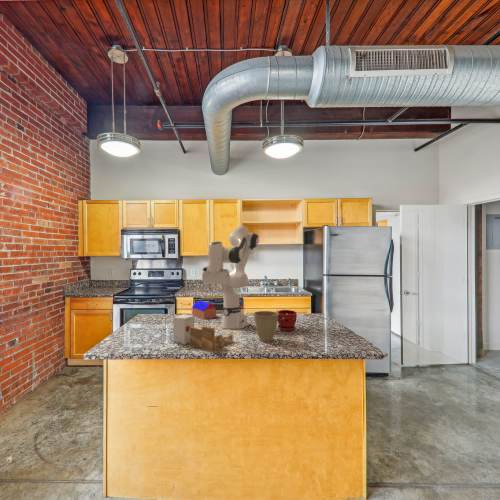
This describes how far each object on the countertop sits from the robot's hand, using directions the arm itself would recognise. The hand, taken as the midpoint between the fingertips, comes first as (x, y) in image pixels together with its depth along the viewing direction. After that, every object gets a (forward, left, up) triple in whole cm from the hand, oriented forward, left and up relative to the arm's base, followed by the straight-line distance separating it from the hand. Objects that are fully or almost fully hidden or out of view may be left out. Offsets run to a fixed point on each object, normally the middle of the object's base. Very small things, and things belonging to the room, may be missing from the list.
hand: (216, 291), depth 175 cm
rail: (+4, +8, -29) cm, 30 cm away
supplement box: (+13, -14, -29) cm, 35 cm away
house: (-42, -55, -30) cm, 75 cm away
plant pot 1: (-18, +24, -29) cm, 42 cm away
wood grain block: (+10, +8, -29) cm, 32 cm away
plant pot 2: (-46, +22, -29) cm, 59 cm away
